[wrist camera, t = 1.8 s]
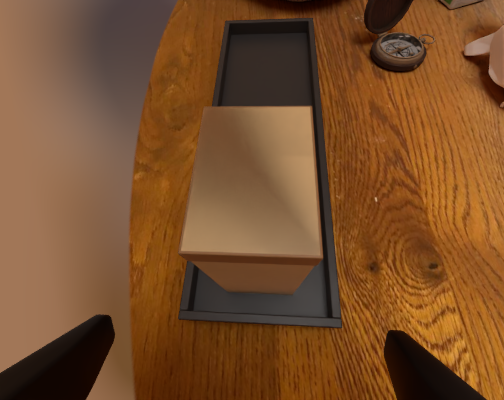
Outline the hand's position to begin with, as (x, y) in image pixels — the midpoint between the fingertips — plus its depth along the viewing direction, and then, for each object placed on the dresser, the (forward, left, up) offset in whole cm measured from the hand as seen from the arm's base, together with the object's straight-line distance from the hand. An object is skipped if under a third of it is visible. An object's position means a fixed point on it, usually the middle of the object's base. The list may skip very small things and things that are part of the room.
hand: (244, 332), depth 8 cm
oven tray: (+17, +5, -12) cm, 22 cm away
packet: (+6, +2, -11) cm, 13 cm away
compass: (+35, -6, -12) cm, 38 cm away
